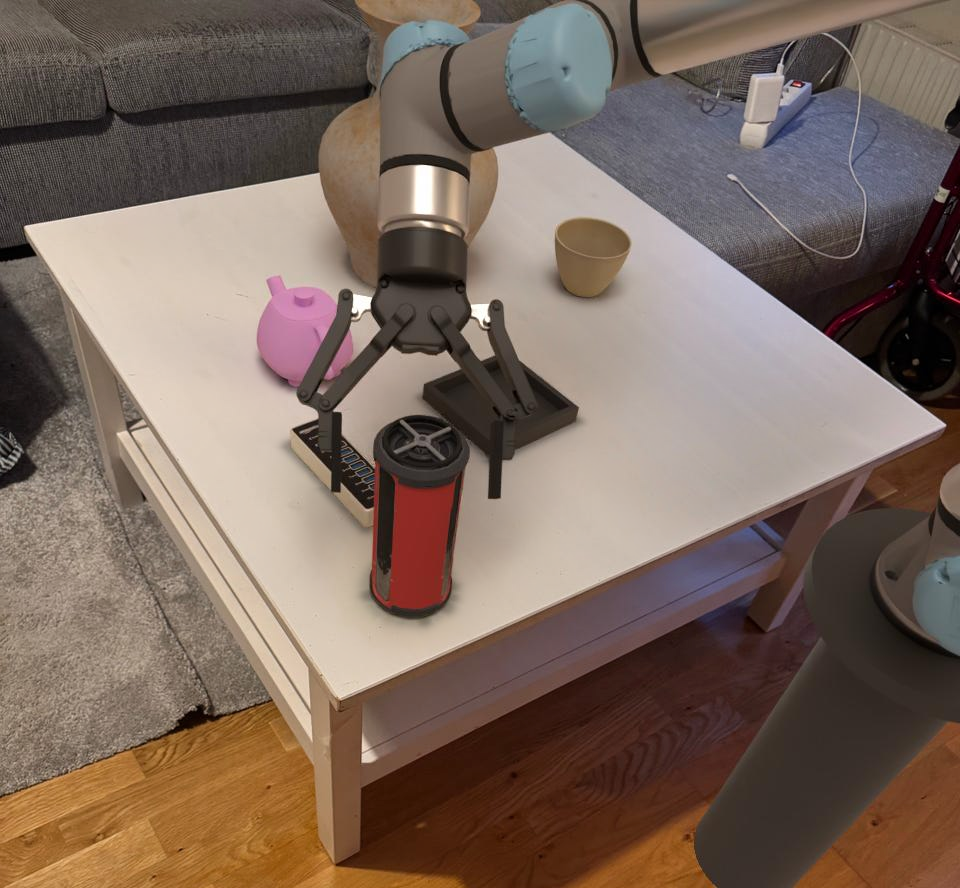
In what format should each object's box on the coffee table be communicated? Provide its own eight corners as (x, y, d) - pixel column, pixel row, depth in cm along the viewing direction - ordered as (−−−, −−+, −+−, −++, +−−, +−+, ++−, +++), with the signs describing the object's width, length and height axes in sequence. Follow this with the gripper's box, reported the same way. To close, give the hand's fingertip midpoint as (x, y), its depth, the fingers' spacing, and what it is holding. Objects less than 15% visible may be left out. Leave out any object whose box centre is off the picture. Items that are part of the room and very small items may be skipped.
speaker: (352, 581, 86) (354, 428, 72) (417, 548, 90) (430, 396, 76) (402, 633, 83) (413, 484, 69) (467, 597, 86) (490, 448, 72)
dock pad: (576, 421, 105) (579, 407, 103) (493, 460, 99) (495, 446, 97) (504, 364, 110) (507, 350, 109) (422, 398, 104) (423, 383, 103)
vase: (372, 207, 130) (378, -47, 106) (511, 256, 126) (549, 4, 102) (288, 274, 117) (273, 2, 93) (440, 332, 113) (465, 63, 89)
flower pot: (534, 271, 124) (543, 220, 119) (598, 264, 127) (610, 214, 122) (564, 312, 119) (575, 260, 113) (631, 304, 122) (645, 253, 116)
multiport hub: (365, 528, 90) (366, 512, 89) (289, 445, 97) (288, 428, 95) (402, 512, 92) (403, 495, 91) (325, 432, 99) (324, 415, 97)
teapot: (288, 410, 100) (284, 335, 93) (234, 336, 107) (226, 261, 100) (373, 387, 104) (375, 314, 97) (315, 317, 112) (313, 244, 104)
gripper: (560, 261, 81) (549, 502, 84) (274, 239, 78) (272, 491, 80) (579, 235, 74) (567, 499, 76) (265, 209, 71) (263, 487, 73)
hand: (415, 495), depth 78 cm, fingers open, 13 cm apart
